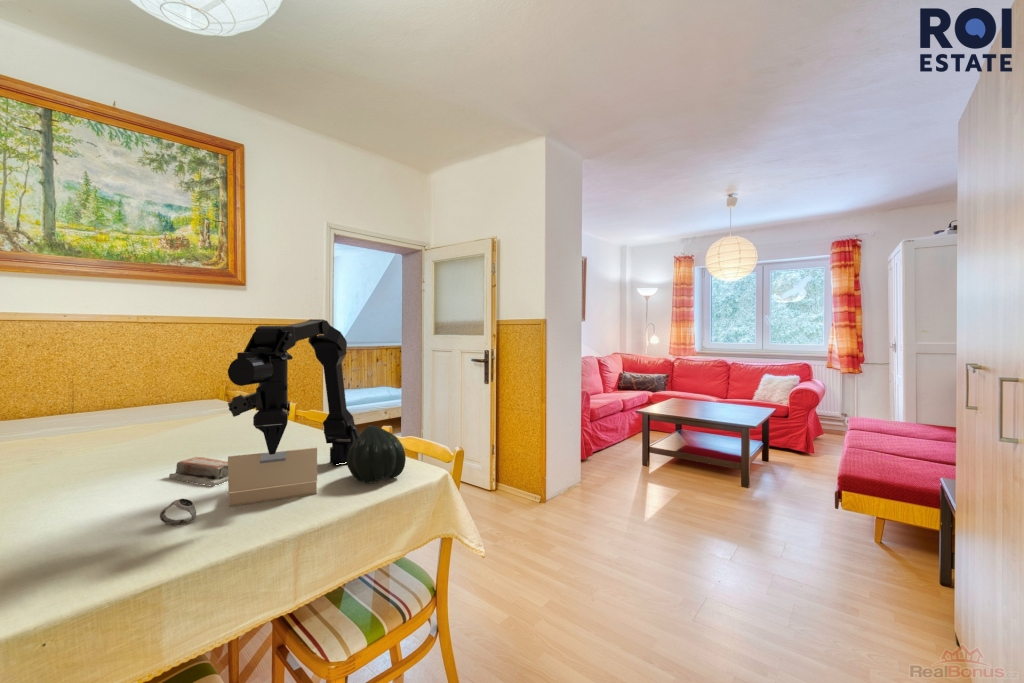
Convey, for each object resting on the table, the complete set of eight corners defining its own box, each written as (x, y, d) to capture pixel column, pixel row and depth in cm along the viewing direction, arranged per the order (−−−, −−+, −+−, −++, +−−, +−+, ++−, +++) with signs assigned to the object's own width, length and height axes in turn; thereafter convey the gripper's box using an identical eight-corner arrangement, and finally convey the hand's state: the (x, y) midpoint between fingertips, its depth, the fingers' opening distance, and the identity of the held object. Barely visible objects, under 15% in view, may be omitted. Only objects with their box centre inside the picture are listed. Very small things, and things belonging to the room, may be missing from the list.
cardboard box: (315, 483, 110) (315, 472, 110) (316, 493, 103) (316, 481, 103) (234, 494, 102) (234, 482, 102) (229, 506, 95) (229, 493, 95)
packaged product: (167, 462, 113) (205, 453, 123) (167, 480, 113) (205, 469, 123) (214, 469, 107) (250, 459, 117) (214, 488, 107) (250, 476, 117)
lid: (317, 447, 103) (317, 454, 98) (317, 479, 103) (317, 488, 98) (228, 456, 95) (224, 464, 90) (228, 491, 95) (224, 501, 90)
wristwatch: (190, 525, 86) (190, 501, 86) (156, 528, 84) (155, 503, 84) (200, 518, 89) (199, 495, 89) (166, 521, 88) (166, 497, 88)
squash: (409, 465, 108) (402, 415, 117) (347, 474, 103) (345, 421, 112) (405, 487, 118) (399, 440, 127) (348, 497, 113) (346, 446, 122)
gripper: (237, 378, 100) (237, 443, 100) (223, 387, 83) (223, 465, 84) (289, 376, 105) (290, 438, 105) (287, 384, 88) (287, 458, 89)
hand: (273, 449), depth 96 cm, fingers open, 9 cm apart
